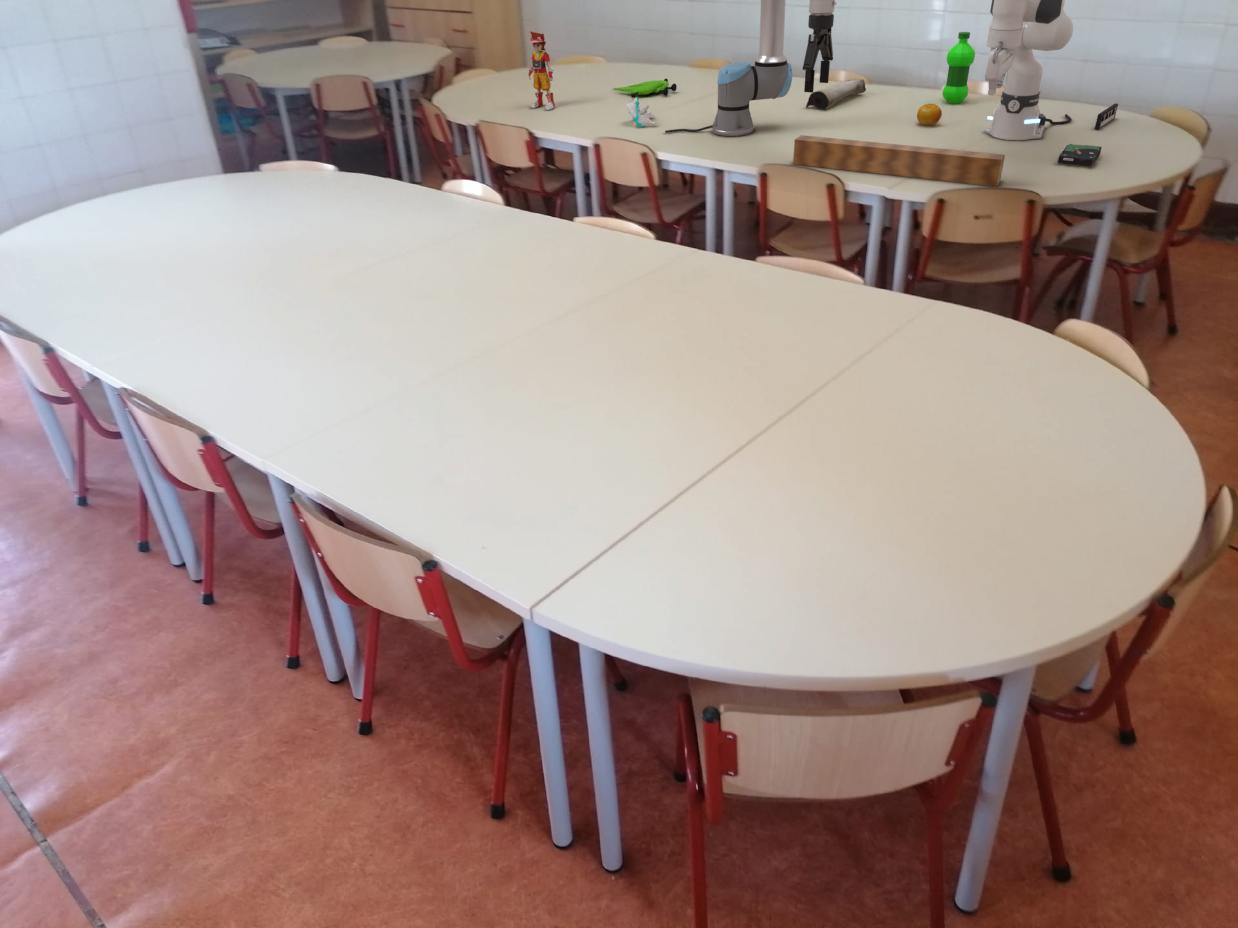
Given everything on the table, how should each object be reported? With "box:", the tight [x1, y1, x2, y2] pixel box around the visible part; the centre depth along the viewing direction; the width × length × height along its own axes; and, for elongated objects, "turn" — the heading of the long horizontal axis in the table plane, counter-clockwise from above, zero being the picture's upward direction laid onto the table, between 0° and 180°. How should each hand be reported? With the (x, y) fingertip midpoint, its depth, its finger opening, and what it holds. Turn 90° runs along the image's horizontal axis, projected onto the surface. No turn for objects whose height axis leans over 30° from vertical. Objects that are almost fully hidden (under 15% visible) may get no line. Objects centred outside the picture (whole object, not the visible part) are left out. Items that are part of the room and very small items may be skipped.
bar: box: [792, 134, 1006, 188], centre depth 285 cm, size 65×6×8 cm, turn 59°
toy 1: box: [527, 31, 556, 111], centre depth 374 cm, size 12×9×30 cm
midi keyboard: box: [1094, 103, 1119, 130], centre depth 318 cm, size 18×1×5 cm, turn 138°
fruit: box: [916, 103, 943, 126], centre depth 329 cm, size 8×8×8 cm
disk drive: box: [1057, 143, 1102, 167], centre depth 287 cm, size 10×3×15 cm
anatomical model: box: [625, 97, 657, 128], centre depth 351 cm, size 15×10×10 cm
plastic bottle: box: [942, 31, 976, 104], centre depth 348 cm, size 10×10×25 cm
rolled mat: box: [805, 78, 867, 111], centre depth 364 cm, size 30×9×10 cm
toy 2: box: [612, 78, 677, 99], centre depth 396 cm, size 28×5×30 cm
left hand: (816, 87), depth 285 cm, fingers open, 13 cm apart
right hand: (994, 91), depth 260 cm, fingers open, 8 cm apart
